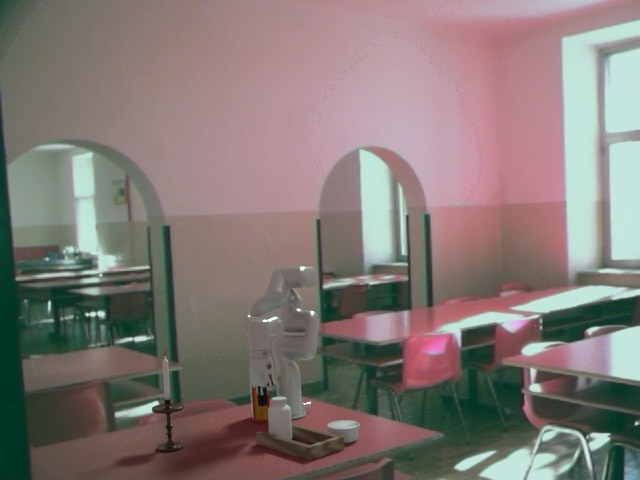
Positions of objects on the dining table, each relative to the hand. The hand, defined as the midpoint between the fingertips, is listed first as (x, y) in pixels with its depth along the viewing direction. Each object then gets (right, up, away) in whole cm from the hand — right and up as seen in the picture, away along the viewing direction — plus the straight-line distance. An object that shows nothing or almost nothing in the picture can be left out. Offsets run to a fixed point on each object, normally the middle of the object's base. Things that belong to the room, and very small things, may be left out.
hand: (263, 405), depth 253 cm
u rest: (+13, -11, -14) cm, 22 cm away
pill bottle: (+7, -11, -7) cm, 15 cm away
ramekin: (+29, -10, -9) cm, 31 cm away
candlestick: (-31, -13, -7) cm, 35 cm away
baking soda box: (-3, -11, +25) cm, 28 cm away
